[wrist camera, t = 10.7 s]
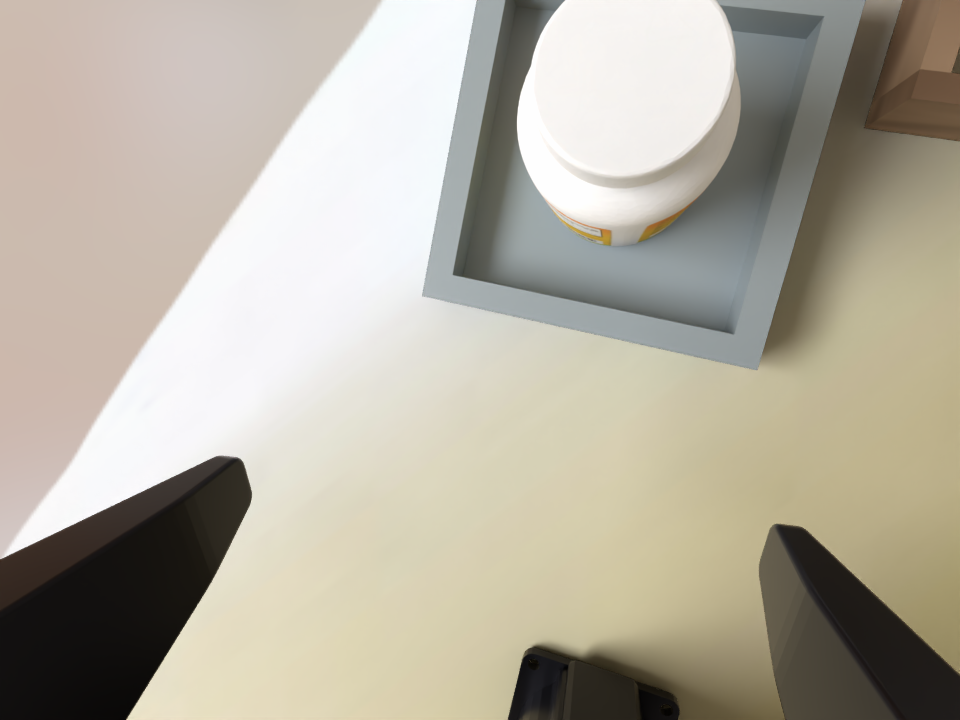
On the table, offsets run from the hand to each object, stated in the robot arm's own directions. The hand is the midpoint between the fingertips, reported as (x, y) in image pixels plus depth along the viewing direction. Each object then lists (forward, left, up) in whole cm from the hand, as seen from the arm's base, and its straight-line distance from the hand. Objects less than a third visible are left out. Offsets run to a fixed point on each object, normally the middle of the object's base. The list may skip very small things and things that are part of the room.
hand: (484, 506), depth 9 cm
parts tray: (+8, -1, -13) cm, 16 cm away
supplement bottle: (+8, -1, -13) cm, 15 cm away
